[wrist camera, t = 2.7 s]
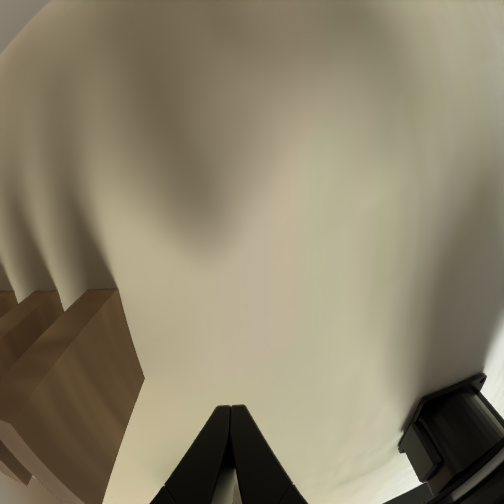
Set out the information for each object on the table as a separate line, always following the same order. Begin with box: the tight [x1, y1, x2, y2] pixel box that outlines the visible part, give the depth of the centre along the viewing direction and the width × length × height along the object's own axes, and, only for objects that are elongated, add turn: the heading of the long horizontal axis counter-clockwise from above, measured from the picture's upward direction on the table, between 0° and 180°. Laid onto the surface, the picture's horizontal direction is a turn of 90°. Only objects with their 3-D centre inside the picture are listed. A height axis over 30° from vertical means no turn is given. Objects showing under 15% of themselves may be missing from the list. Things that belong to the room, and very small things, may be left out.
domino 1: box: [0, 290, 64, 486], centre depth 8 cm, size 2×5×8 cm, turn 3°
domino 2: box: [0, 289, 145, 504], centre depth 8 cm, size 2×5×8 cm, turn 4°
